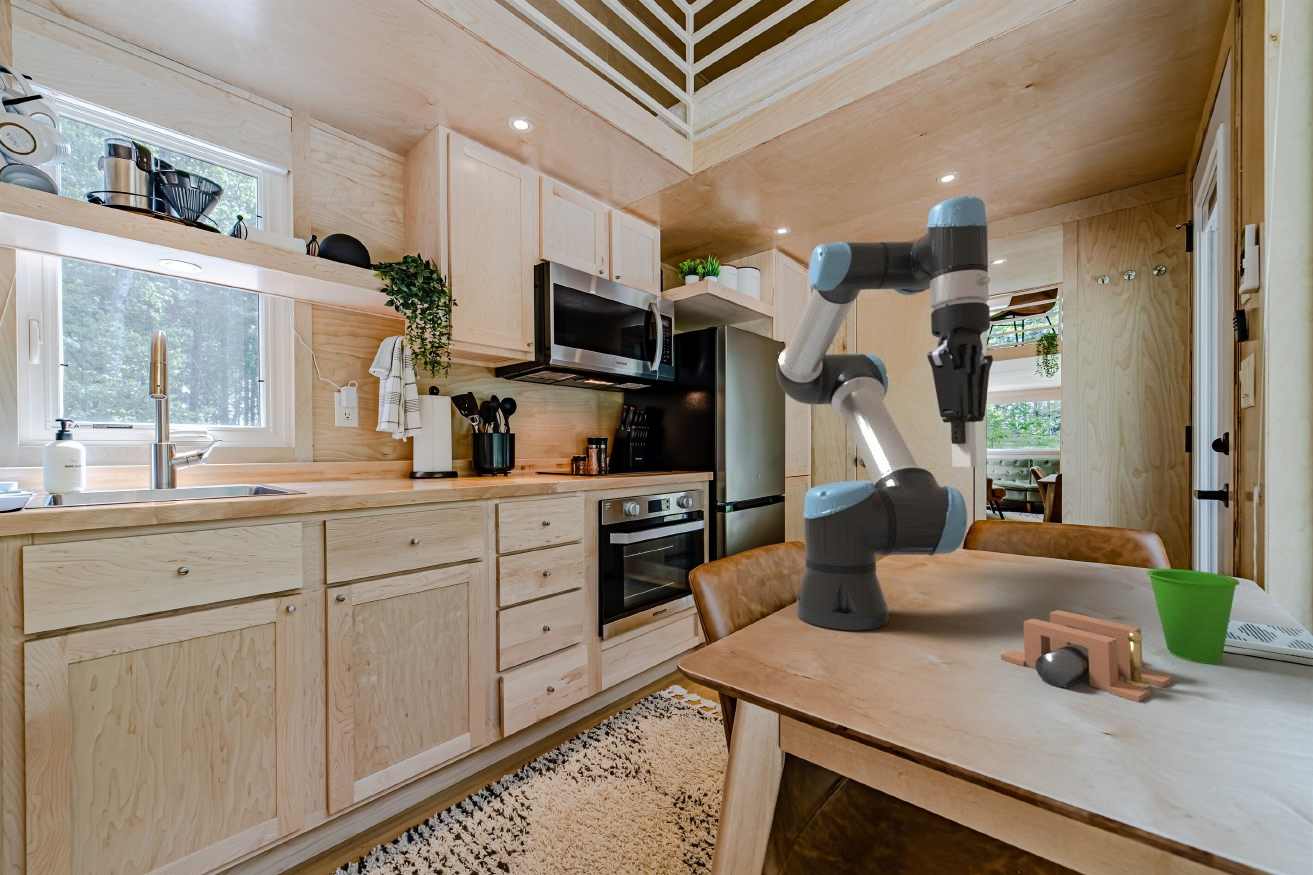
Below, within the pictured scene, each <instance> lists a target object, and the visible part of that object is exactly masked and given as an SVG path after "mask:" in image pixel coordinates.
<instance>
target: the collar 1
mask: <svg viewBox="0 0 1313 875" xmlns="http://www.w3.org/2000/svg"><path fill="white" fill-rule="evenodd" d="M1051 638H1054V639H1058V640H1062V641H1065V642H1069V643H1073V644H1077V645H1081V646H1085V647H1088V650H1089V678H1088V679H1089V686H1090V687H1093V688H1096V689H1100V690H1104V691H1106V692H1108V693H1109V694H1112V695H1114V696H1118V697H1121V698H1124V699H1128V700H1131V701H1134V702H1138V703H1140V702H1142V701H1143V700H1145V699H1146V698H1148V697H1149V696H1151V689H1145V688H1142V687H1138V686H1135V685H1131V684H1128V683H1124V682H1123V681H1120V680H1119V674H1118V653H1117V639H1116V638H1112V637H1108V636H1104V635H1100V634H1096V632H1092V631H1088V630H1084V629H1080V628H1075V629H1074V628H1070V627H1066V626H1062V625H1058V624H1054V623H1050V621H1044V620H1041V619H1036V618H1030V619H1028V620H1025V621H1023V641H1024V644H1023V645H1024V652H1022V651H1018V650H1015V649H1012V650H1010V651H1007V652H1004V653H1002V654H1000V657H1001V658H1000V659H1001V660H1002V661H1006V662H1009V663H1012V664H1016V665H1019V666H1022V667H1025V666H1026V667H1029V668H1032V669H1035V670H1036V666H1035V665H1036V660H1037V659H1038V658H1039V657H1040V656H1042V655H1045V654H1047V653H1049V652H1051V651H1050V643H1051Z"/></svg>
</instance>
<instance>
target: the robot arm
mask: <svg viewBox="0 0 1313 875" xmlns="http://www.w3.org/2000/svg"><path fill="white" fill-rule="evenodd" d="M928 212H929V213H928V218H927V224H926V228H927V230H928V232H926V234H924V235H923V236H922V237H921V238H919V239H918V240H917V241H916V240H915V241H878V242H875V241H874V242H869V241H867V242H866V241H865V242H857V241H856V242H853V241H850V242H846V241H845V242H844V241H836V242H832V243H831V242H830V243H822V244H818V245H817V246H816V247H815V248H814V249H813V251H812V252H811V256H810V262H809V264H808V265H809V266H808V281H809V284H810V287H811V288H812V292H811V295H810V296H809V299H808V301H807V304H806V306H805V308H804V311H803V312H802V315H801V318H800V320H799V322H798V324H797V327H796V329H795V332H794V333H793V335H792V336H793V337H792V338H791V341H790V343H789V346H787V347H785V348H784V349H783V350H782V351H781V353H780V355H779V358H778V360H777V363H776V366H775V370H776V371H775V372H776V378H777V381H778V384H779V386H780V387H781V389H782V390H783V391H784V393H785V394H786V395H788V397H790V398H791V399H793V400H794V401H795V402H799V403H800V404H803V405H830V406H831V408H832V410H833V412H834V414H836V415H837V416H839V417H840V418H843V419H844V420H845V423H846V425H847V427H848V430H849V432H850V434H851V437H852V439H853V442H854V443H855V446H856V448H857V451H858V452H859V454H860V457H861V459H862V461H863V462H862V463H863V464H864V466H865V468H866V470H867V473H868V475H869V477H870V480H865V479H864V480H863V479H860V480H850V481H848V480H846V481H837V482H831V483H826V484H825V483H824V484H820V485H815V486H813V487H811V488H809V489H808V490H807V492H806V494H805V496H804V505H803V506H804V509H803V515H802V516H803V518H804V541H805V542H804V545H805V546H804V547H805V548H804V549H805V572H804V577H803V579H802V584H801V585H800V586H801V587H800V591H799V595H798V596H797V599H796V616H797V617H798V618H799V619H801V620H802V621H804V622H806V623H809V624H811V625H813V626H814V625H815V626H818V627H822V628H827V629H834V630H843V631H866V630H867V631H868V630H874V629H878V628H879V629H880V628H882V627H884V626H886V625H887V624H888V623H889V621H890V620H889V616H890V615H889V606H888V604H887V602H886V600H885V597H884V594H883V591H882V588H881V584H880V581H879V578H878V575H877V556H916V555H917V556H919V555H922V556H923V555H925V556H926V555H928V556H931V557H933V556H934V555H943V554H951V553H953V552H955V551H956V550H958V549H959V547H960V546H961V545H962V543H963V541H964V539H965V536H966V532H967V528H968V511H967V510H968V509H967V505H966V502H965V499H964V496H963V495H962V493H961V491H960V490H959V489H958V488H955V487H952V486H949V485H945V486H940V485H939V483H938V481H937V480H936V478H935V477H934V475H933V473H932V472H931V471H929V470H928V469H926V468H923V467H920V466H919V465H918V463H917V462H916V460H915V459H914V457H913V454H912V452H911V451H910V450H909V448H908V446H907V443H906V442H905V440H904V438H903V436H902V435H901V433H900V431H899V429H898V427H897V425H896V424H895V422H894V420H893V418H892V415H891V414H890V412H889V411H888V408H887V406H886V405H885V403H884V398H885V397H886V395H887V393H888V387H889V377H888V376H887V373H888V371H887V368H886V365H885V364H884V362H883V360H882V359H881V358H879V356H877V355H875V354H871V353H862V352H857V353H853V354H852V353H851V354H846V353H845V354H840V353H839V354H837V353H836V354H827V351H828V350H829V349H830V346H831V345H832V343H833V340H834V339H835V337H836V335H837V333H838V332H839V330H840V328H841V326H842V324H843V323H844V321H845V320H846V317H847V315H848V314H849V312H850V311H851V308H852V307H853V304H854V302H855V301H856V299H857V297H858V296H859V294H860V292H861V291H862V290H894V291H896V292H897V293H899V294H901V295H904V296H913V295H917V294H920V293H923V292H925V291H927V290H930V291H929V296H930V298H929V299H930V302H929V304H930V308H931V309H933V310H932V312H931V313H930V322H931V324H930V326H931V329H930V330H931V334H932V336H933V337H936V338H939V340H938V343H937V349H936V350H934V351H928V353H927V360H928V363H929V365H930V366H931V371H932V376H933V381H934V388H935V394H936V398H937V404H938V405H937V406H938V410H939V415H940V418H942V422H943V423H944V424H946V423H950V434H951V436H950V437H951V438H950V439H951V460H952V461H951V462H952V464H951V465H952V468H953V467H954V468H955V467H956V468H977V467H978V466H977V438H976V435H977V433H976V432H977V431H976V422H983V421H984V420H985V419H984V418H985V415H986V407H987V399H988V391H989V390H988V388H989V379H990V371H991V367H992V364H993V361H994V357H993V355H990V354H988V355H985V354H984V353H983V342H982V339H981V335H982V334H983V333H985V332H987V331H989V329H990V328H991V320H990V317H991V316H990V310H991V309H990V306H989V305H988V303H987V302H988V301H989V299H990V297H989V295H990V294H989V283H990V282H991V278H990V277H989V274H988V272H989V271H988V269H989V258H988V257H989V254H988V253H989V252H988V250H989V248H988V247H989V246H988V227H989V223H988V222H987V213H986V205H985V202H984V200H982V199H981V198H980V197H976V196H971V195H970V196H966V195H965V196H958V197H952V198H948V199H946V200H943V201H941V202H939V203H937V204H935V205H933V207H932V208H930V210H929V211H928Z"/></svg>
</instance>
